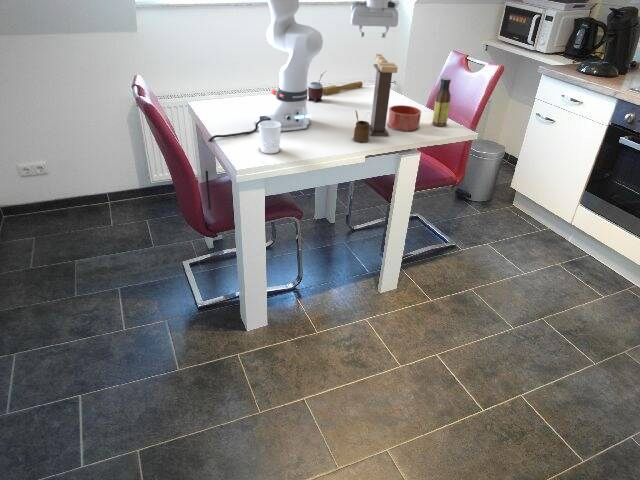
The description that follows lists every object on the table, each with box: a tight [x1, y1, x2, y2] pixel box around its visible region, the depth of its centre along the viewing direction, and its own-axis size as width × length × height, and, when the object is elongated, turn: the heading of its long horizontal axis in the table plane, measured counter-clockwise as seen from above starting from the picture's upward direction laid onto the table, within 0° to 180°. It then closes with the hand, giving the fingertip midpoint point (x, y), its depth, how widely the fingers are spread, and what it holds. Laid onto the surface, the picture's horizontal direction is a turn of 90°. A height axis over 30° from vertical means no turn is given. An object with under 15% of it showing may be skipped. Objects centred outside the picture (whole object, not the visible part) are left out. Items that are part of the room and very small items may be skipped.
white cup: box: [258, 120, 282, 154], centre depth 177 cm, size 8×8×10 cm
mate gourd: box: [307, 70, 327, 103], centre depth 230 cm, size 8×8×15 cm
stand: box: [369, 63, 393, 137], centre depth 195 cm, size 10×7×26 cm
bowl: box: [387, 104, 422, 132], centre depth 208 cm, size 13×13×7 cm
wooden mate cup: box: [353, 109, 372, 143], centre depth 190 cm, size 6×6×12 cm
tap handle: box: [322, 81, 364, 96], centre depth 250 cm, size 3×3×30 cm
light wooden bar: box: [374, 53, 399, 74], centre depth 190 cm, size 22×6×2 cm, turn 6°
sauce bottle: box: [432, 77, 452, 127], centre depth 208 cm, size 6×6×20 cm
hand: (372, 37), depth 211 cm, fingers open, 8 cm apart
